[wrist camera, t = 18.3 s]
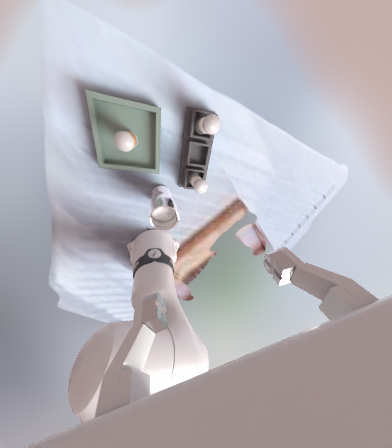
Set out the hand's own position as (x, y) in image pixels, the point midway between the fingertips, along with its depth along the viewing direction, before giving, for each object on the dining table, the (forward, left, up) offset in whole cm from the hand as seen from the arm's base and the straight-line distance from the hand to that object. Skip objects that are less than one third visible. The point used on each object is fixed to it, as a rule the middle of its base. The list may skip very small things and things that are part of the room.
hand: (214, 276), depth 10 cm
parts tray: (+6, +10, -37) cm, 39 cm away
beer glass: (-8, +2, -37) cm, 38 cm away
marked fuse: (+6, +10, -36) cm, 38 cm away
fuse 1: (+11, -7, -36) cm, 39 cm away
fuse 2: (-2, -7, -36) cm, 37 cm away
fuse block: (+5, -7, -37) cm, 38 cm away
